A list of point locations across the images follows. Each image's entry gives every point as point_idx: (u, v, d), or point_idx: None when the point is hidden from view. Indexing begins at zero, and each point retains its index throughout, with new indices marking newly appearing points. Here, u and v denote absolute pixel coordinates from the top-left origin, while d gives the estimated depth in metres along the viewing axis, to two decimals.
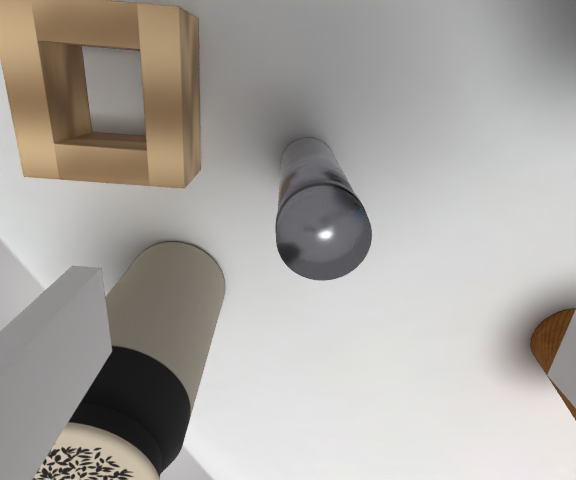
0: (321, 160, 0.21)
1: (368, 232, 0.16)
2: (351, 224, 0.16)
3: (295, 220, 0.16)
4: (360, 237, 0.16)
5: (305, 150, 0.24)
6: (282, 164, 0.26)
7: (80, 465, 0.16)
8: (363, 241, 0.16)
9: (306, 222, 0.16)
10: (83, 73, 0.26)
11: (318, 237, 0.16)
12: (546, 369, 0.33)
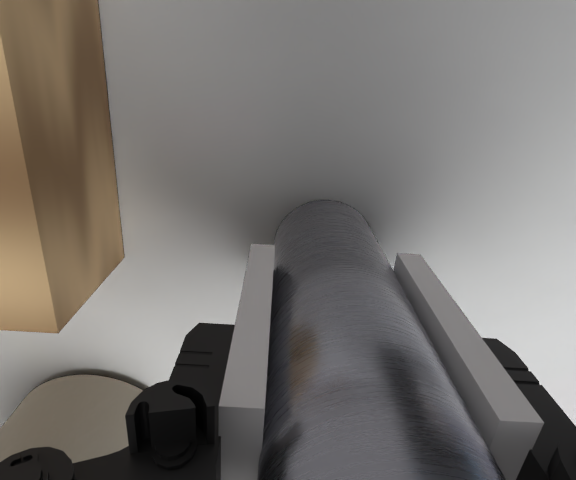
0: (377, 320, 0.08)
1: None
2: None
3: None
4: None
5: (326, 256, 0.10)
6: (275, 269, 0.12)
7: None
8: None
9: None
10: None
11: None
12: None
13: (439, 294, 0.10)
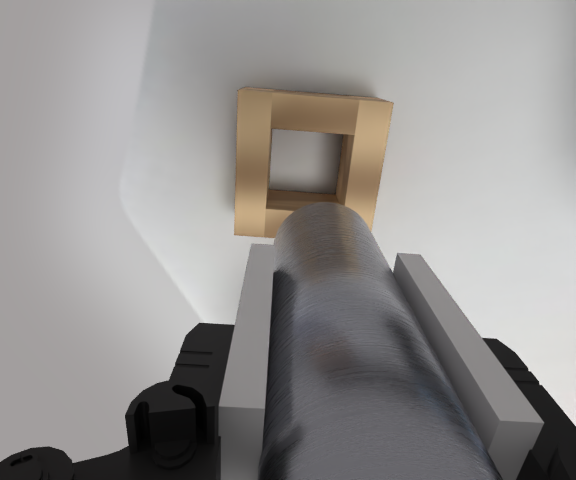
0: (377, 323, 0.08)
1: None
2: None
3: None
4: None
5: (326, 258, 0.10)
6: (274, 271, 0.12)
7: None
8: None
9: None
10: (271, 142, 0.31)
11: None
12: None
13: (439, 294, 0.10)
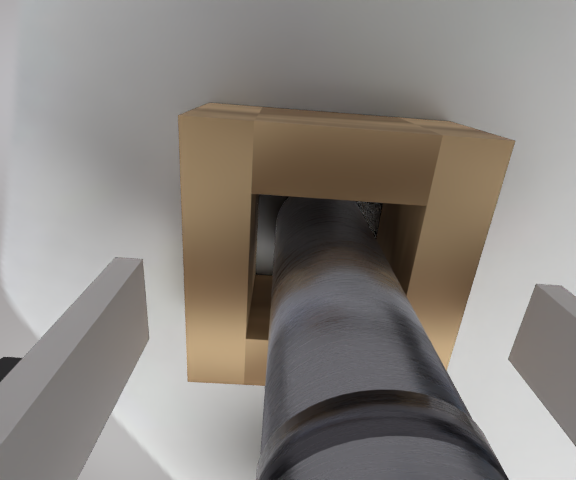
0: (357, 265, 0.10)
1: None
2: None
3: None
4: None
5: (320, 224, 0.13)
6: (277, 239, 0.15)
7: None
8: None
9: None
10: (258, 199, 0.17)
11: None
12: None
13: None
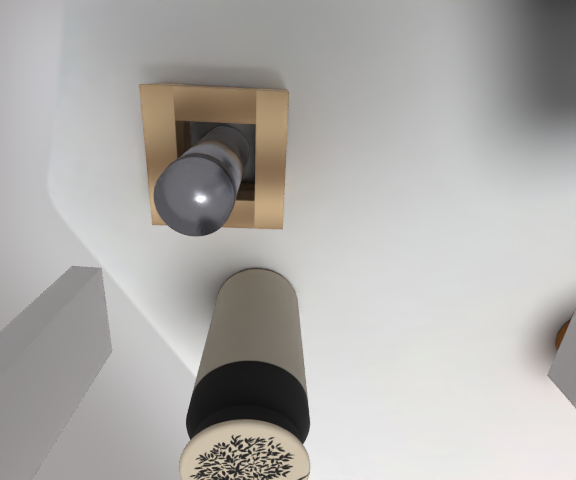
0: (213, 141, 0.25)
1: (229, 193, 0.20)
2: (213, 187, 0.20)
3: (167, 185, 0.20)
4: (223, 198, 0.20)
5: (209, 135, 0.28)
6: None
7: (255, 451, 0.21)
8: (226, 201, 0.20)
9: (176, 186, 0.20)
10: None
11: (188, 199, 0.20)
12: None
13: None
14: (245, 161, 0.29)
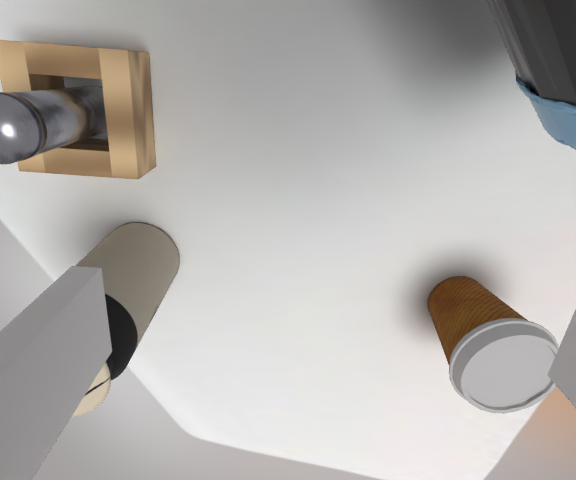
0: (50, 90, 0.28)
1: (24, 125, 0.23)
2: (10, 119, 0.23)
3: None
4: (20, 129, 0.23)
5: None
6: None
7: None
8: (23, 132, 0.23)
9: None
10: None
11: None
12: (434, 323, 0.42)
13: None
14: (99, 114, 0.32)
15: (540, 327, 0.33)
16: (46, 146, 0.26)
